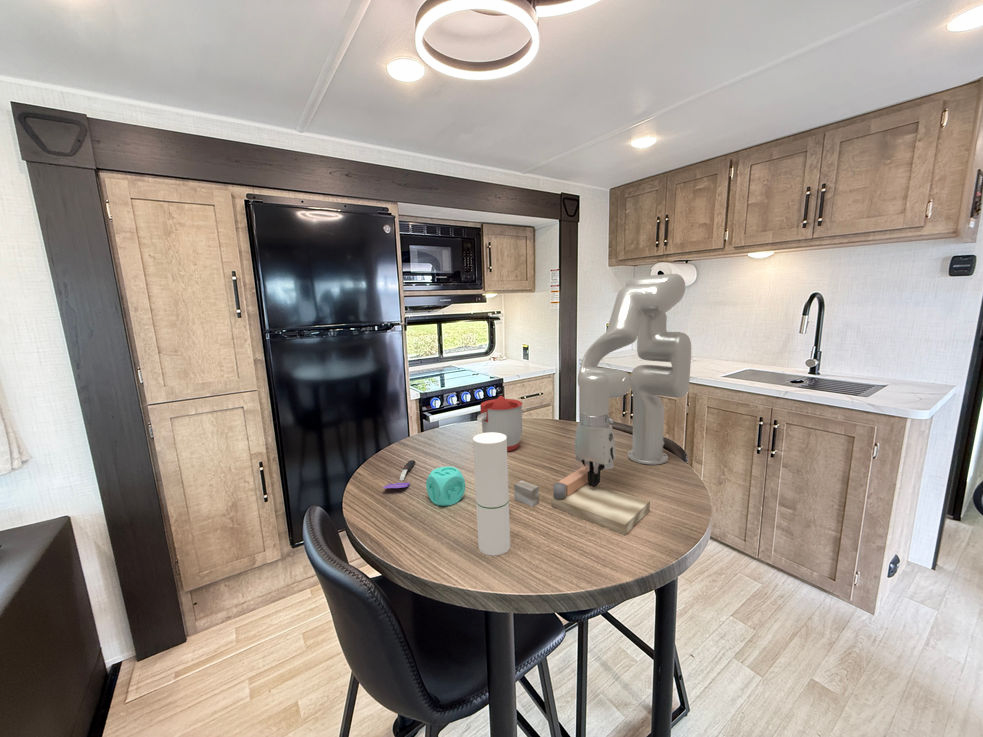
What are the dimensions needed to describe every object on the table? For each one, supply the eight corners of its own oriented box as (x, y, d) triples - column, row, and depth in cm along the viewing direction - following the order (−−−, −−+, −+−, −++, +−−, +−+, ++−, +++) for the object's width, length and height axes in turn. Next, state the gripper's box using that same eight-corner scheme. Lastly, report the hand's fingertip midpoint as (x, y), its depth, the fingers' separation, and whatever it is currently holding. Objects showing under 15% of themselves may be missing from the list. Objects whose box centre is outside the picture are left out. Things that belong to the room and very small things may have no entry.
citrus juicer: (471, 445, 150) (469, 394, 147) (511, 437, 157) (509, 389, 154) (488, 459, 136) (486, 403, 133) (531, 449, 143) (530, 396, 140)
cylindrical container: (509, 535, 90) (505, 431, 86) (511, 554, 83) (507, 442, 79) (478, 537, 90) (473, 433, 86) (478, 556, 83) (472, 444, 79)
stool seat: (551, 478, 119) (551, 464, 118) (649, 510, 98) (649, 493, 98) (514, 499, 107) (514, 484, 106) (618, 541, 86) (618, 522, 85)
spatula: (403, 463, 137) (403, 456, 136) (423, 462, 136) (422, 456, 136) (382, 495, 113) (381, 487, 113) (405, 495, 113) (404, 487, 112)
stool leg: (561, 500, 100) (561, 489, 99) (551, 496, 102) (550, 485, 101) (595, 477, 112) (595, 467, 111) (585, 474, 114) (585, 465, 113)
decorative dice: (426, 499, 109) (424, 472, 108) (450, 489, 114) (448, 463, 113) (442, 509, 103) (440, 481, 102) (466, 499, 108) (465, 472, 107)
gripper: (627, 420, 101) (626, 487, 103) (576, 412, 111) (577, 473, 114) (614, 428, 95) (613, 498, 98) (562, 418, 105) (562, 482, 108)
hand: (593, 484), depth 106 cm, fingers closed
